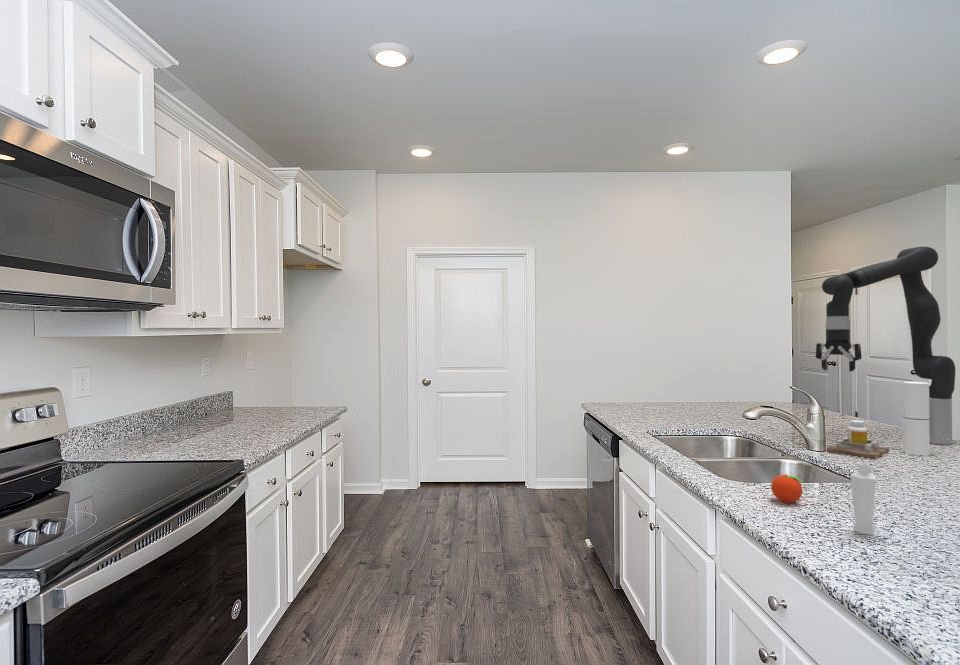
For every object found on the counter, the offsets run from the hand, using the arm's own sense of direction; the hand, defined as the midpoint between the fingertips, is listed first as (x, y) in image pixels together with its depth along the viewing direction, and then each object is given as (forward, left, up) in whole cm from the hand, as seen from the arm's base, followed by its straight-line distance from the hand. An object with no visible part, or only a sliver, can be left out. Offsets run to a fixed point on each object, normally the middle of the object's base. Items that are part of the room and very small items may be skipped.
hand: (838, 370), depth 192 cm
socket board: (+10, +9, -28) cm, 31 cm away
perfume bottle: (+90, +34, -28) cm, 100 cm away
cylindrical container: (-3, +22, -28) cm, 36 cm away
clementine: (+83, +16, -28) cm, 89 cm away
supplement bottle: (+10, +9, -27) cm, 30 cm away
